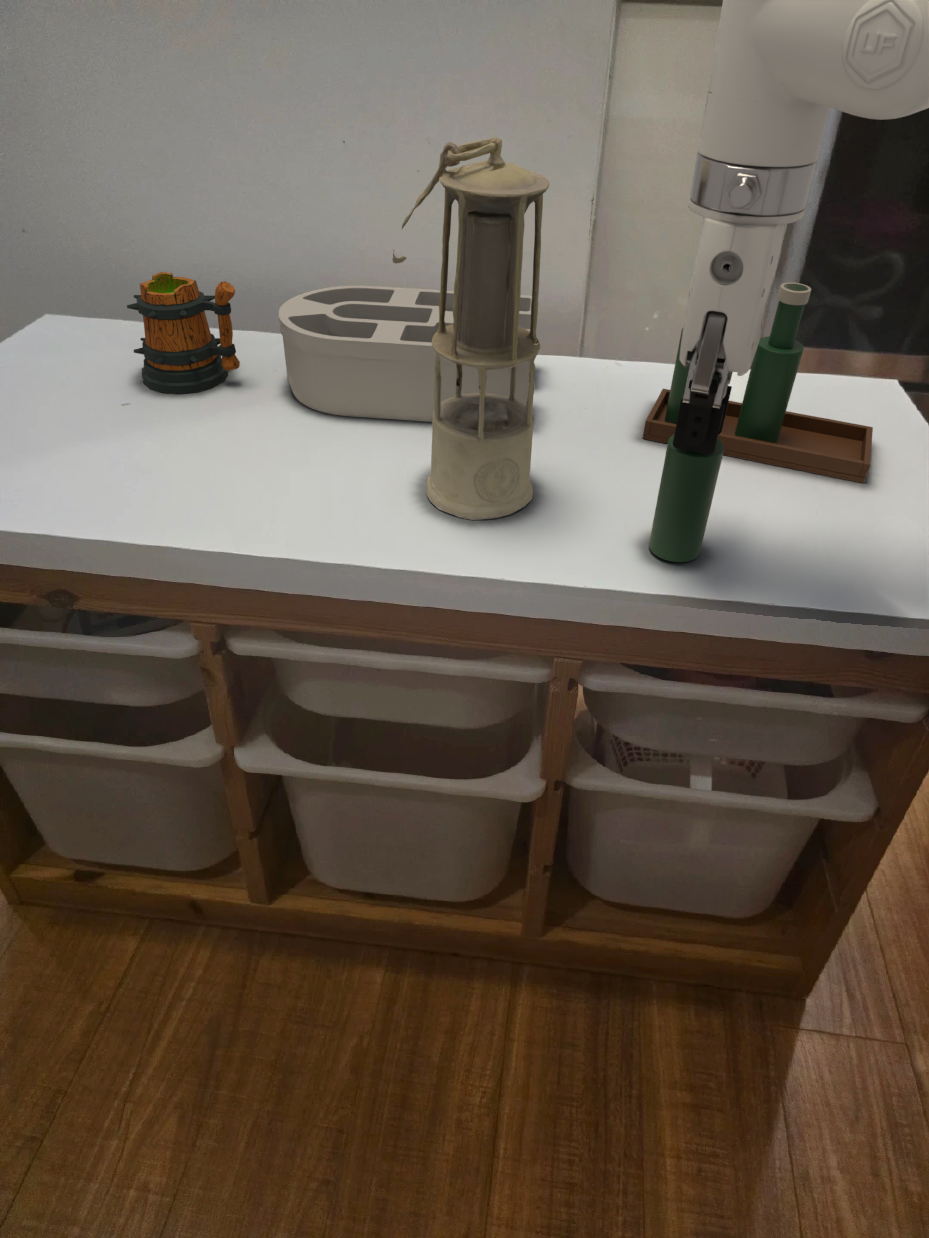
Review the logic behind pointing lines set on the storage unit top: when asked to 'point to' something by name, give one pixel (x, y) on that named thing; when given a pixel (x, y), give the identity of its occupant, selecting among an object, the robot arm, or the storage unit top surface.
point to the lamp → (484, 334)
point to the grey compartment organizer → (379, 352)
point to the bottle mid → (774, 369)
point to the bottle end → (676, 388)
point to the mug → (184, 335)
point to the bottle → (684, 501)
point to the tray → (786, 442)
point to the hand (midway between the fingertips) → (697, 438)
